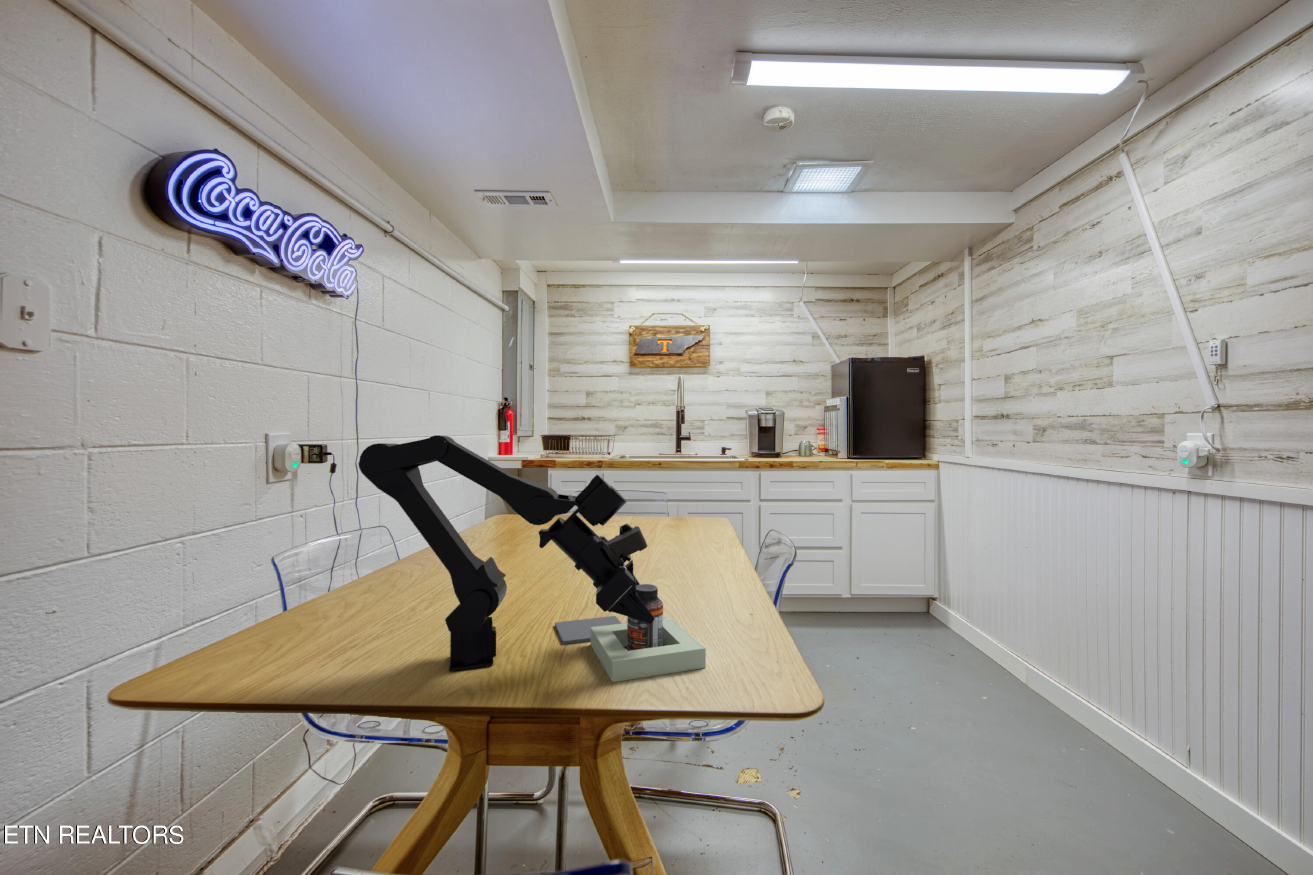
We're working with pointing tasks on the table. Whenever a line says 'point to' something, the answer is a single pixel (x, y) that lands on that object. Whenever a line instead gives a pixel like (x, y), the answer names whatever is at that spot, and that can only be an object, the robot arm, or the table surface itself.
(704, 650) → the square frame
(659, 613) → the supplement bottle
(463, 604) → the robot arm
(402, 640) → the table surface
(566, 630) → the mat
